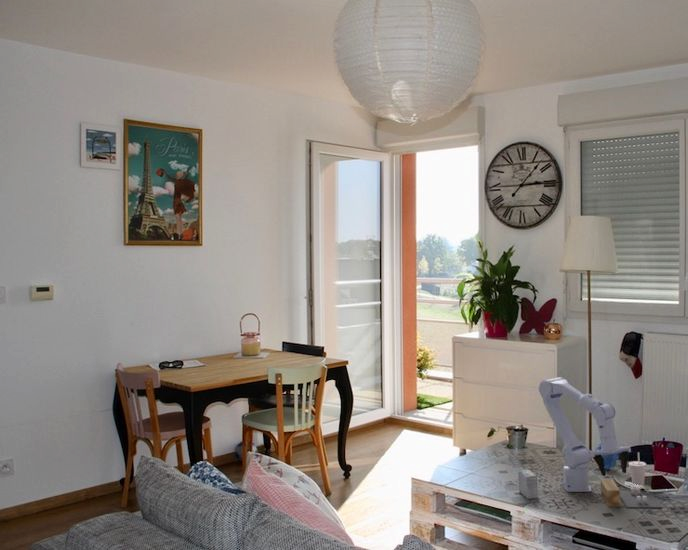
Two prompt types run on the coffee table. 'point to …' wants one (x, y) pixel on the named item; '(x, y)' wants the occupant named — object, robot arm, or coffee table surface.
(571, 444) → the robot arm
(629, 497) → the peg base
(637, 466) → the smoothie
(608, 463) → the grapes
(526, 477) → the medicine box
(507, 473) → the coffee table surface
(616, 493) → the oak block
